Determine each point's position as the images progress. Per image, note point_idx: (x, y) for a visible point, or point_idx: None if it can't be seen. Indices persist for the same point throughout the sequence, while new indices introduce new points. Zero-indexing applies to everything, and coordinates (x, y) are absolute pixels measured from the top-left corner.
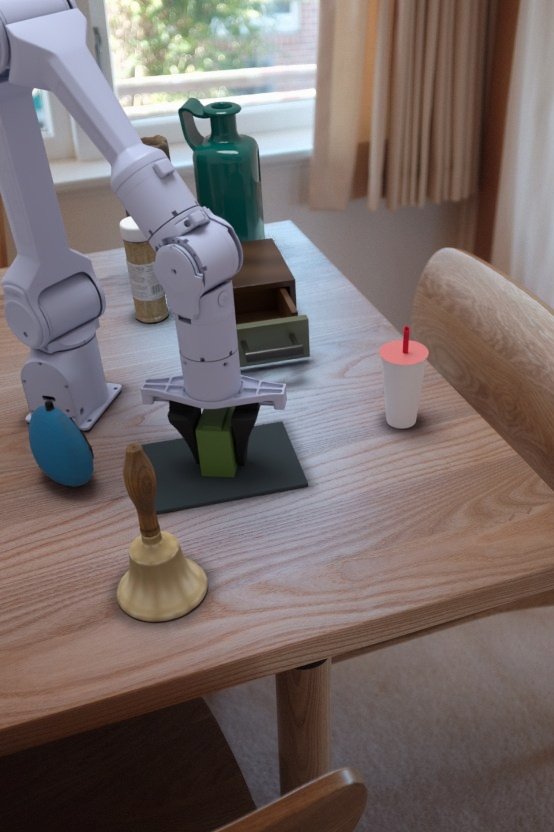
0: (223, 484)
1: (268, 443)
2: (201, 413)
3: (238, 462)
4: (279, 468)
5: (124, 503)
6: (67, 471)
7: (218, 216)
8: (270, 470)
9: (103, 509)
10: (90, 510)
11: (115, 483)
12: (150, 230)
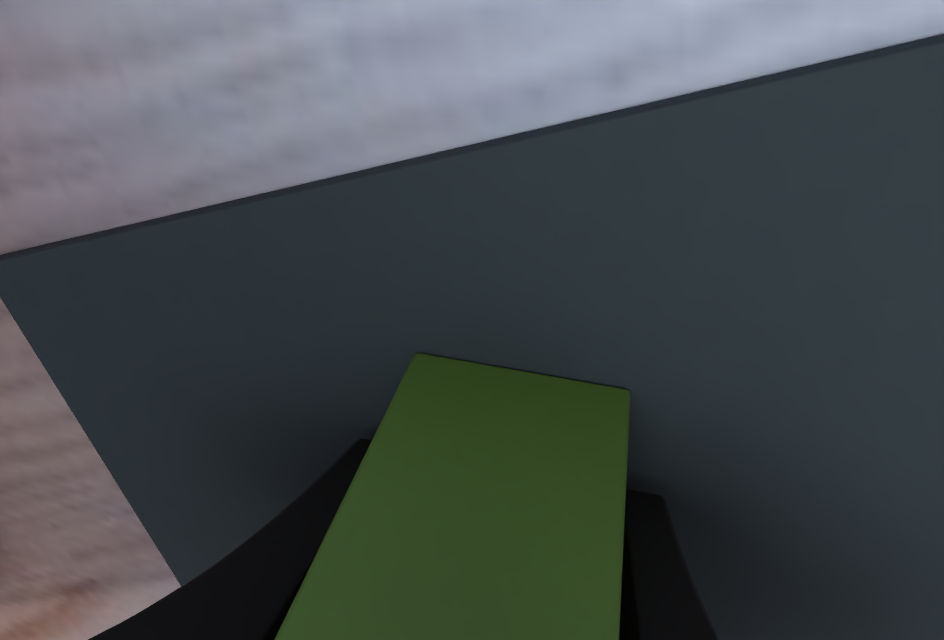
0: None
1: (839, 340)
2: (265, 635)
3: None
4: (869, 578)
5: (119, 616)
6: None
7: None
8: (806, 587)
9: (58, 629)
10: (14, 624)
11: (20, 504)
12: None
